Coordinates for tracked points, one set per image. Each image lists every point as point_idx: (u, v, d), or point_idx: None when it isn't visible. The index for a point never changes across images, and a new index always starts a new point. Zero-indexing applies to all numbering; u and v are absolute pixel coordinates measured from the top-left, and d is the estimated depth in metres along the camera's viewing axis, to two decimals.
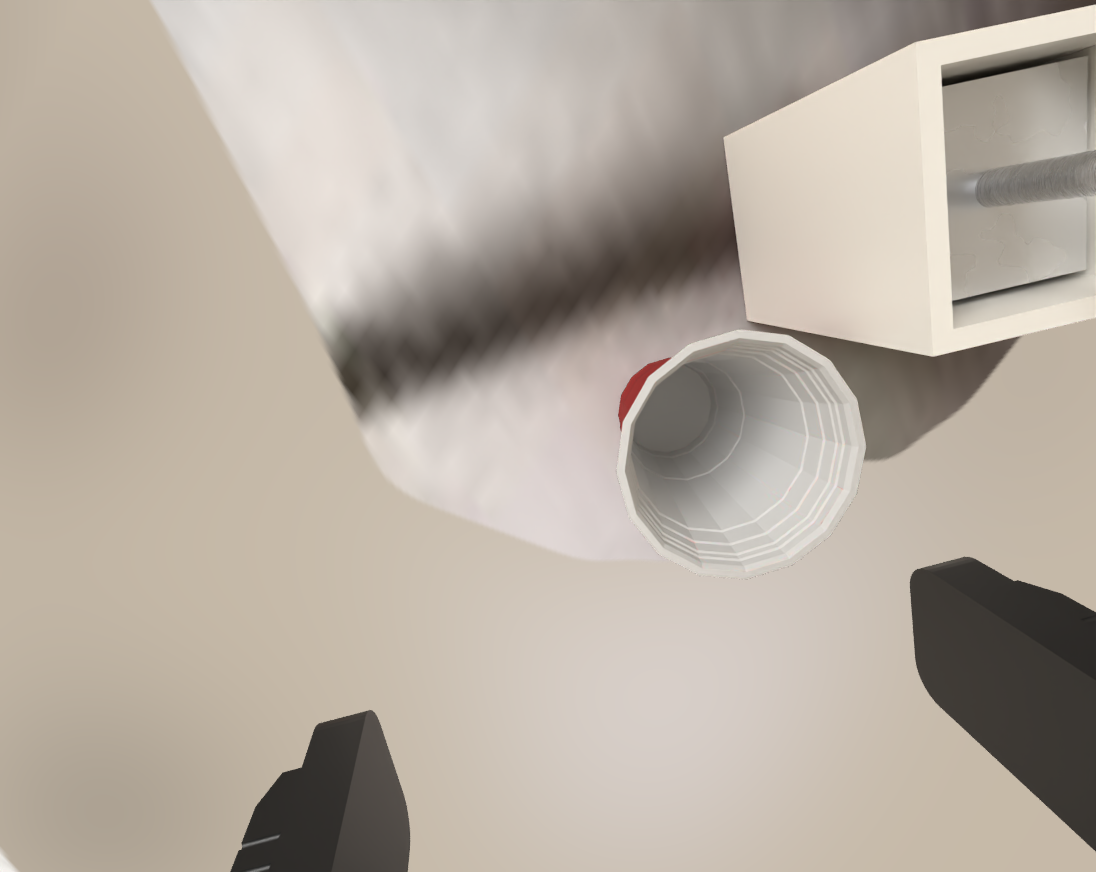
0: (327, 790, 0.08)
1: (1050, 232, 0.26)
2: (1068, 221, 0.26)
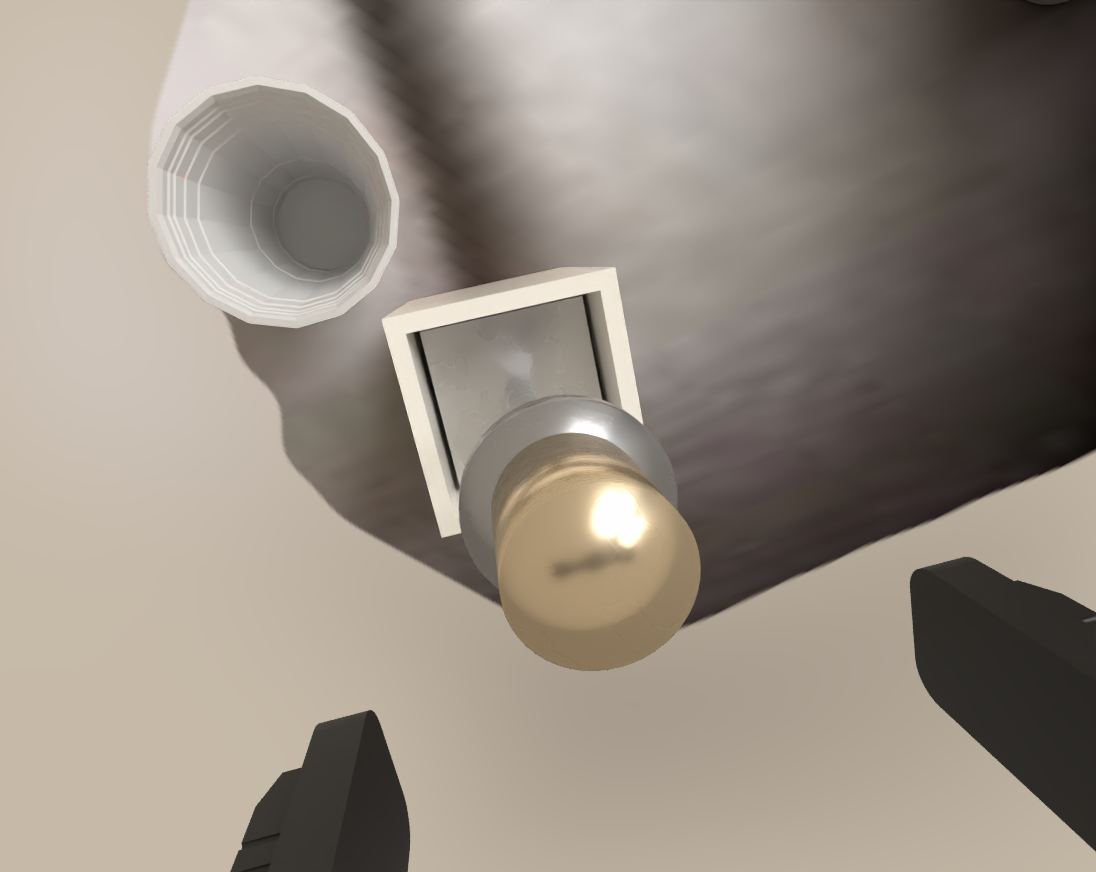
0: (327, 790, 0.08)
1: None
2: None
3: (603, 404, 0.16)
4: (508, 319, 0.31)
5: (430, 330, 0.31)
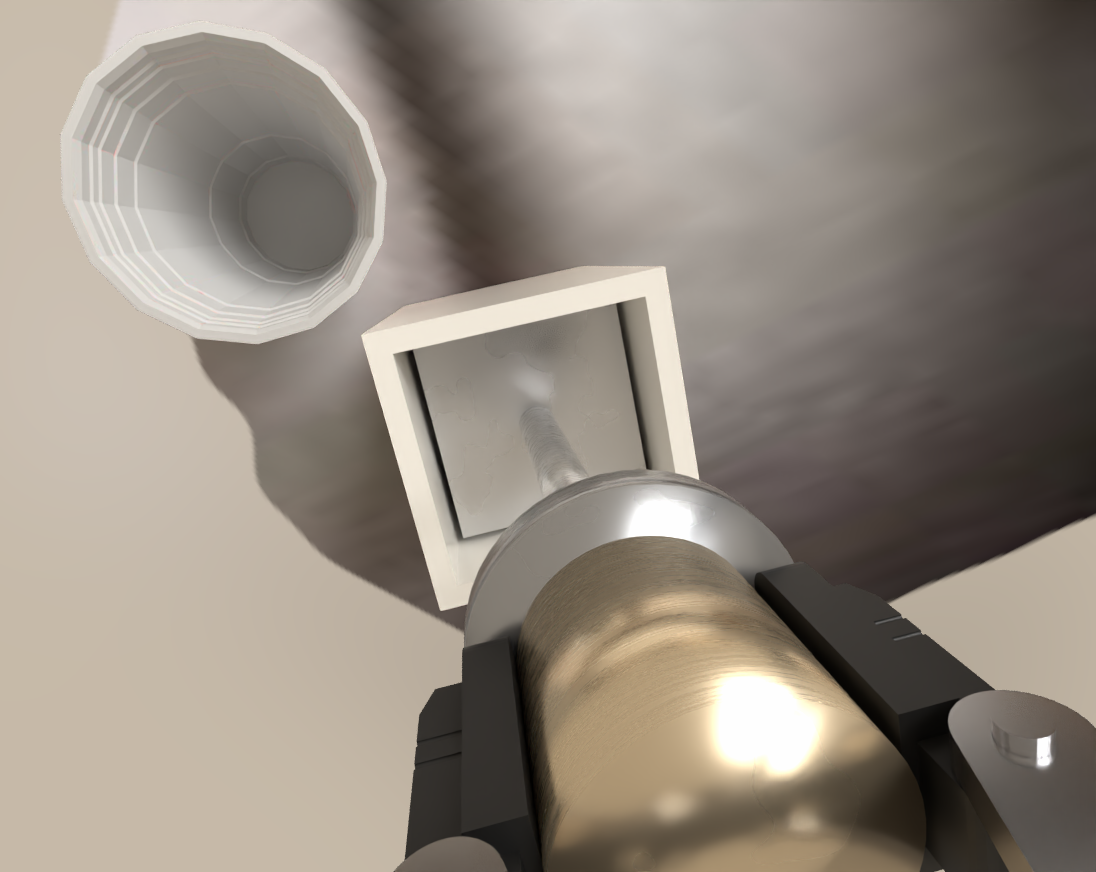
0: (493, 694, 0.09)
1: (496, 493, 0.27)
2: (507, 509, 0.27)
3: (698, 490, 0.10)
4: (524, 332, 0.25)
5: (426, 346, 0.25)
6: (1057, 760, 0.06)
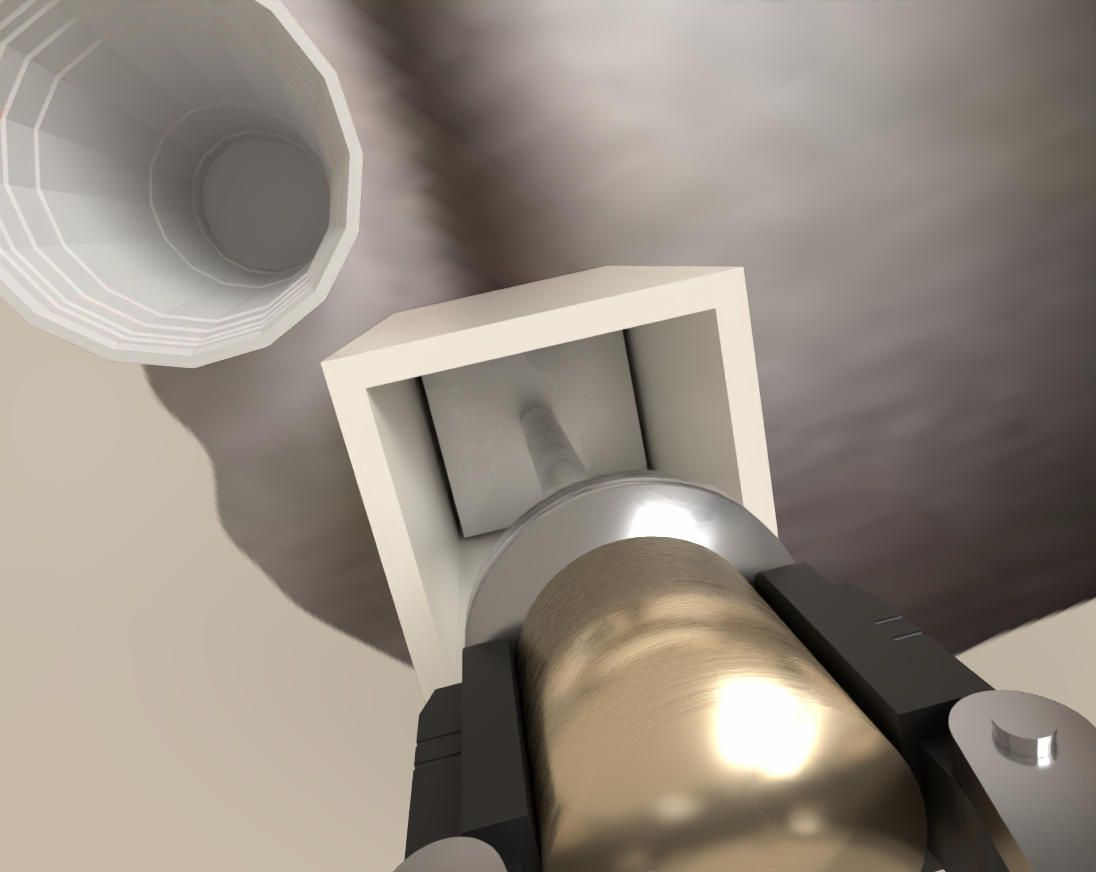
0: (493, 694, 0.09)
1: (498, 493, 0.27)
2: (509, 509, 0.27)
3: (699, 490, 0.10)
4: None
5: None
6: (1057, 760, 0.06)
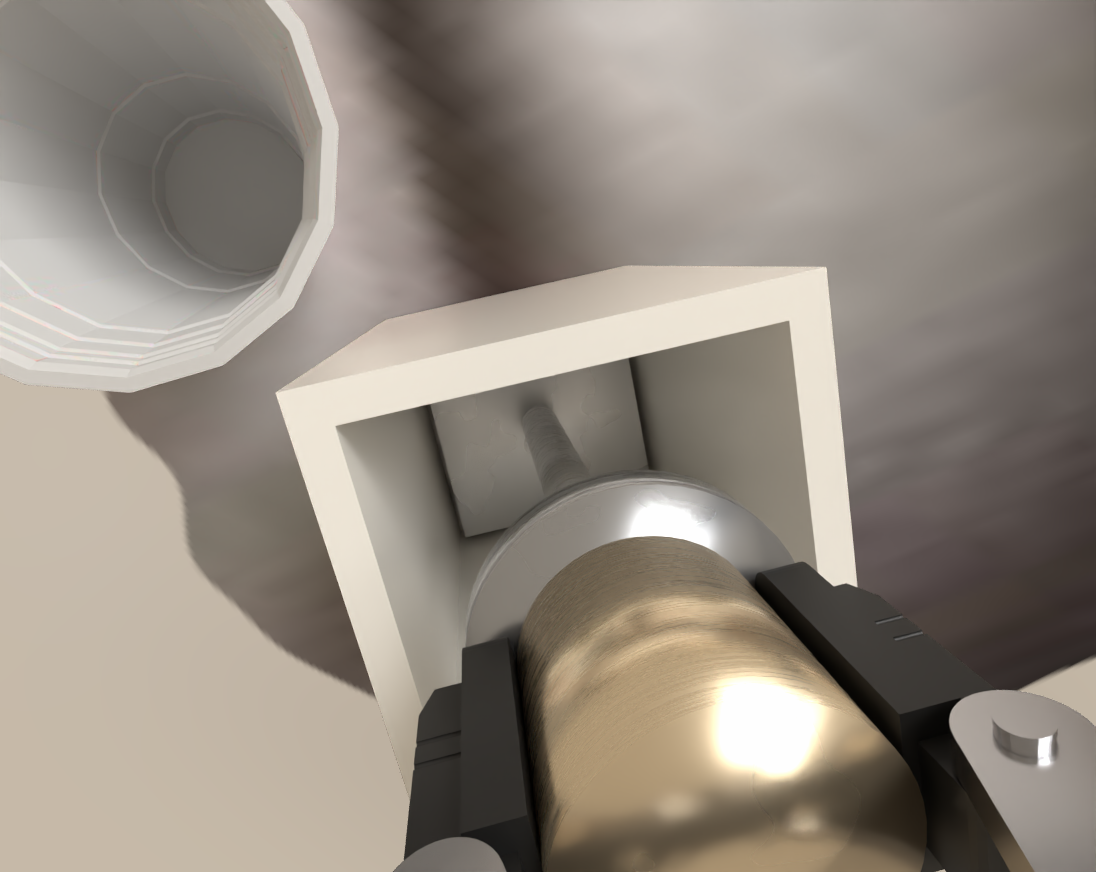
0: (493, 694, 0.09)
1: (499, 492, 0.27)
2: (510, 508, 0.27)
3: (699, 490, 0.10)
4: None
5: None
6: (1058, 760, 0.06)
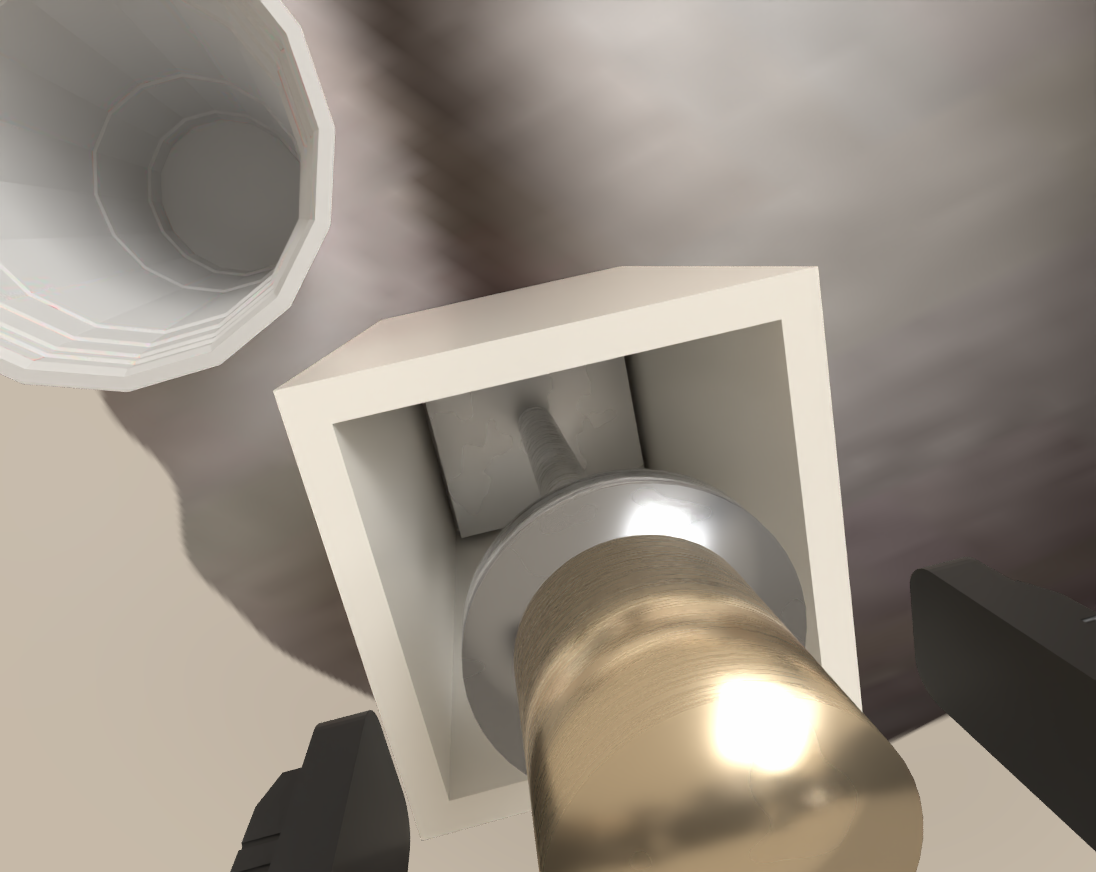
0: (327, 790, 0.08)
1: (495, 493, 0.27)
2: (506, 509, 0.27)
3: (696, 489, 0.10)
4: None
5: None
6: None
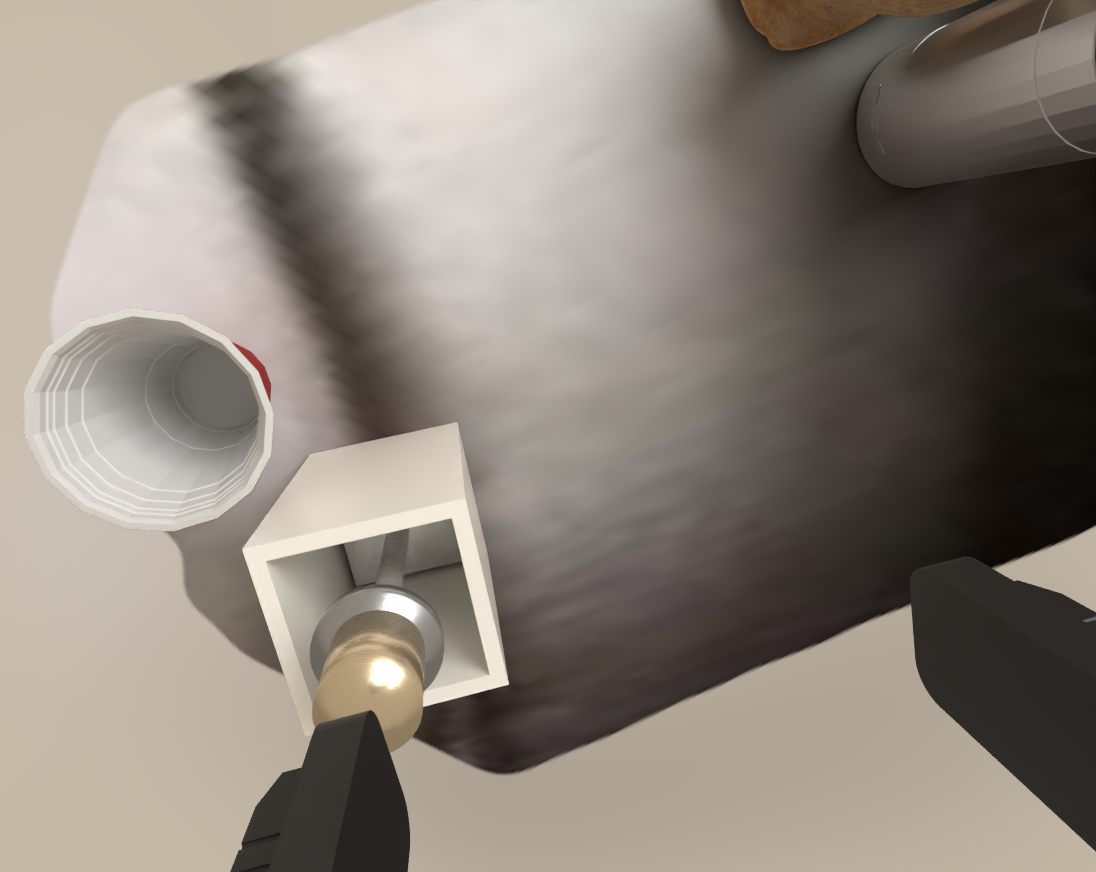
0: (328, 789, 0.08)
1: (376, 559, 0.44)
2: None
3: (395, 593, 0.28)
4: None
5: None
6: None
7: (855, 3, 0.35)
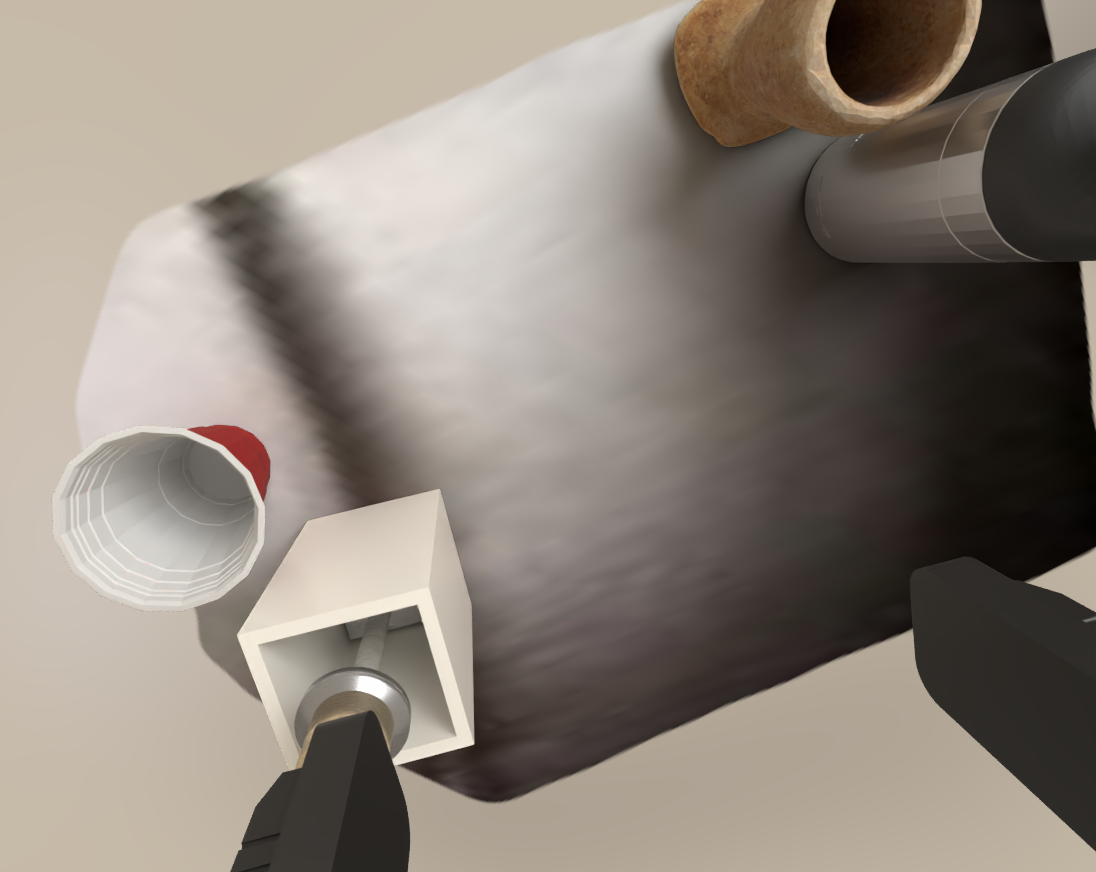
0: (327, 790, 0.08)
1: None
2: None
3: (366, 676, 0.33)
4: None
5: None
6: None
7: (782, 121, 0.39)
